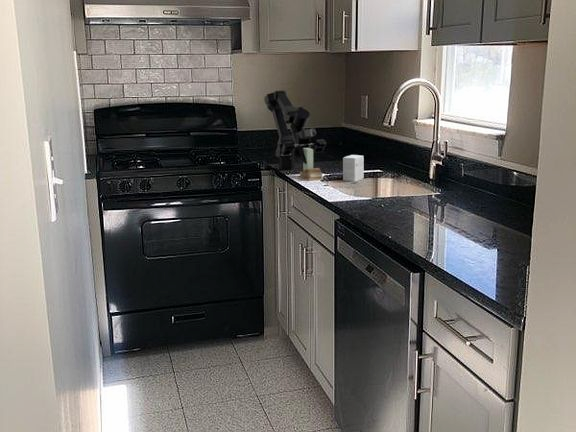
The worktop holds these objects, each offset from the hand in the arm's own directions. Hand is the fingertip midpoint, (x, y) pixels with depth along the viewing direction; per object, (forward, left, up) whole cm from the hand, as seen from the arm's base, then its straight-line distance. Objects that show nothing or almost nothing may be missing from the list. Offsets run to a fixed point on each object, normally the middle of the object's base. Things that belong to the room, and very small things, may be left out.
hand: (309, 163), depth 271 cm
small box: (+18, +5, -7) cm, 20 cm away
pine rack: (+1, 0, -7) cm, 7 cm away
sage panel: (-1, +1, -6) cm, 6 cm away
